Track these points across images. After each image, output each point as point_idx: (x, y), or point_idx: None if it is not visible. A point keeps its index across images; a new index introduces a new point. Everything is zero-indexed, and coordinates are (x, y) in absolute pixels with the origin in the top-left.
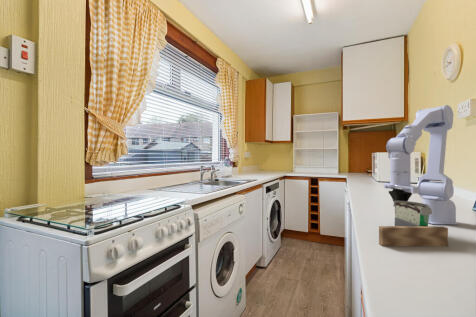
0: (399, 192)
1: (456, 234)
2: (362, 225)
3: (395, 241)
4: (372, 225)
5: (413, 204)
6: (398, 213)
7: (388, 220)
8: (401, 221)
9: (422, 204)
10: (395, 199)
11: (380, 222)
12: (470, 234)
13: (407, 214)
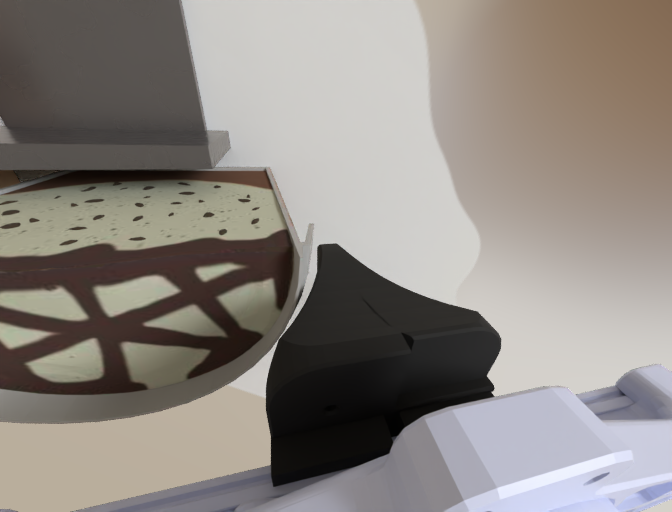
0: (267, 399)
1: (254, 365)
2: (404, 3)
3: None
4: (393, 94)
5: (222, 359)
6: (241, 207)
7: (455, 250)
8: (113, 142)
9: (151, 402)
10: (344, 292)
11: (436, 191)
12: (260, 394)
13: (105, 219)
